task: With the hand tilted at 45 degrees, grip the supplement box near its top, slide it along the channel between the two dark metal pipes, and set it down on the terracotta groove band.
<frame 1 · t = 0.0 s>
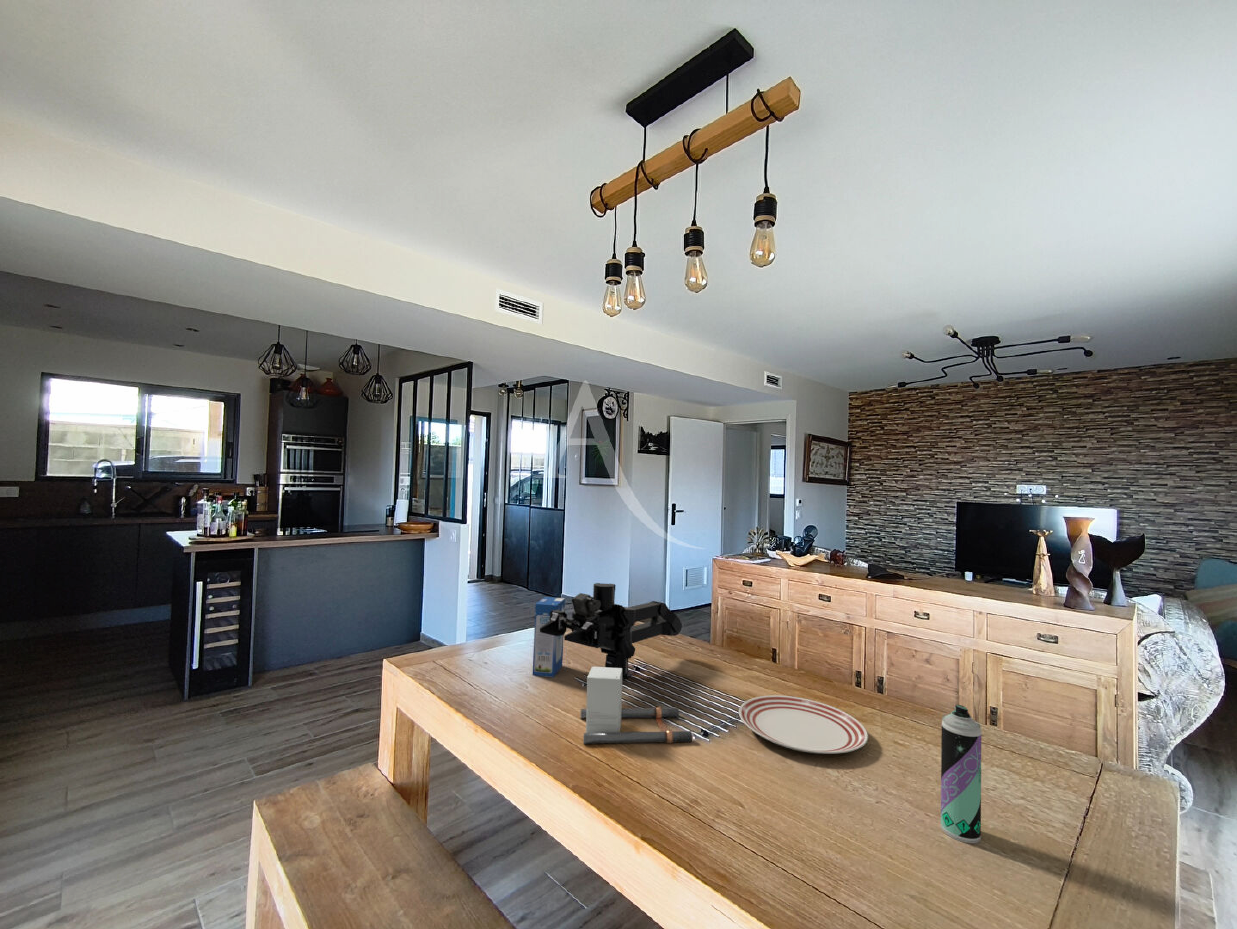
hand: (552, 633, 132), 17 cm above the table, tool horizontal, fingers open, 9 cm apart
pipe track: (633, 729, 118), on the table
dinner plate: (800, 734, 119), on the table
spray can: (960, 833, 86), on the table
milk carton: (547, 671, 154), on the table
supplement box: (603, 730, 117), on the table
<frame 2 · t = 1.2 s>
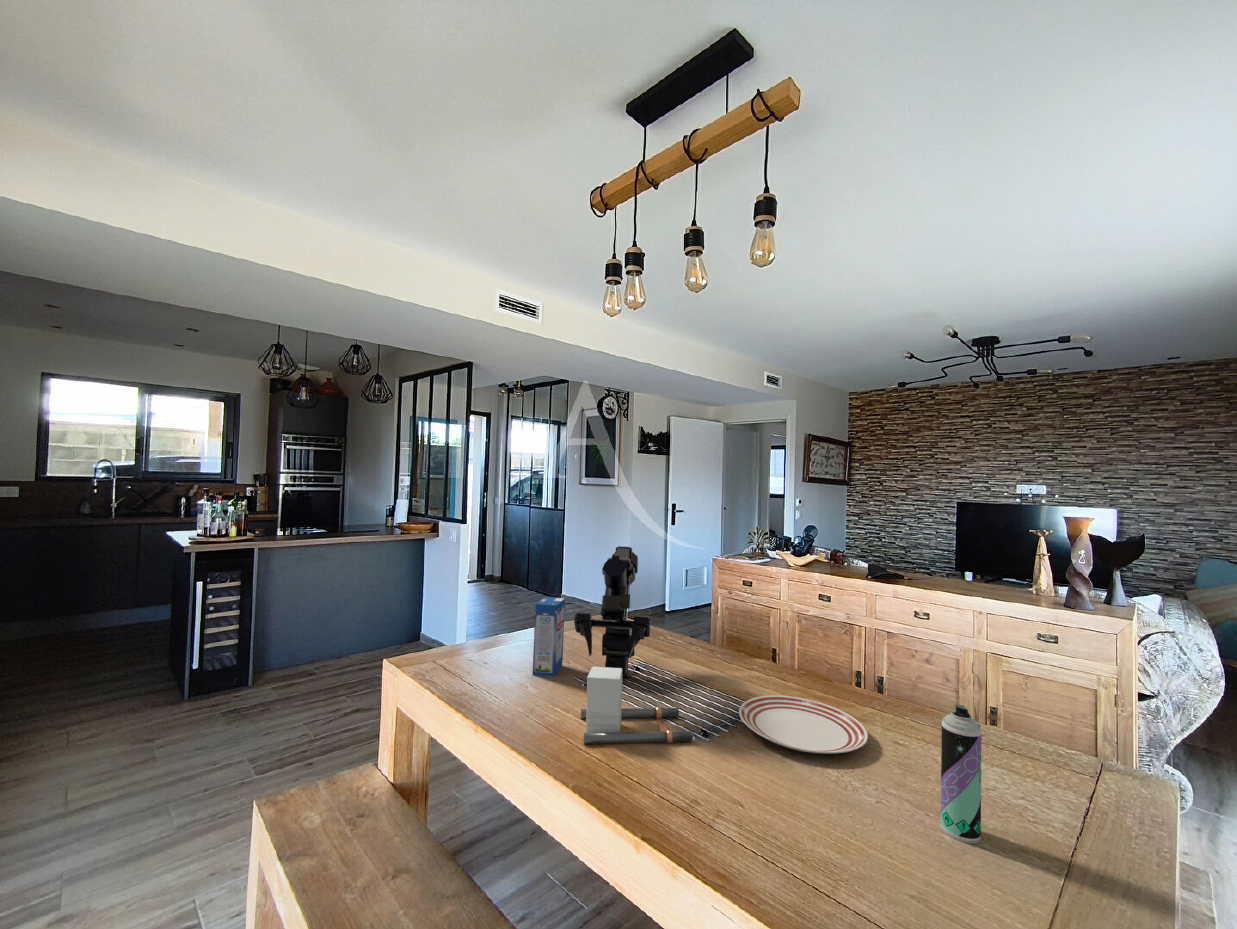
hand: (609, 656, 126), 14 cm above the table, tool tilted 45°, fingers open, 9 cm apart
nothing on the table moved.
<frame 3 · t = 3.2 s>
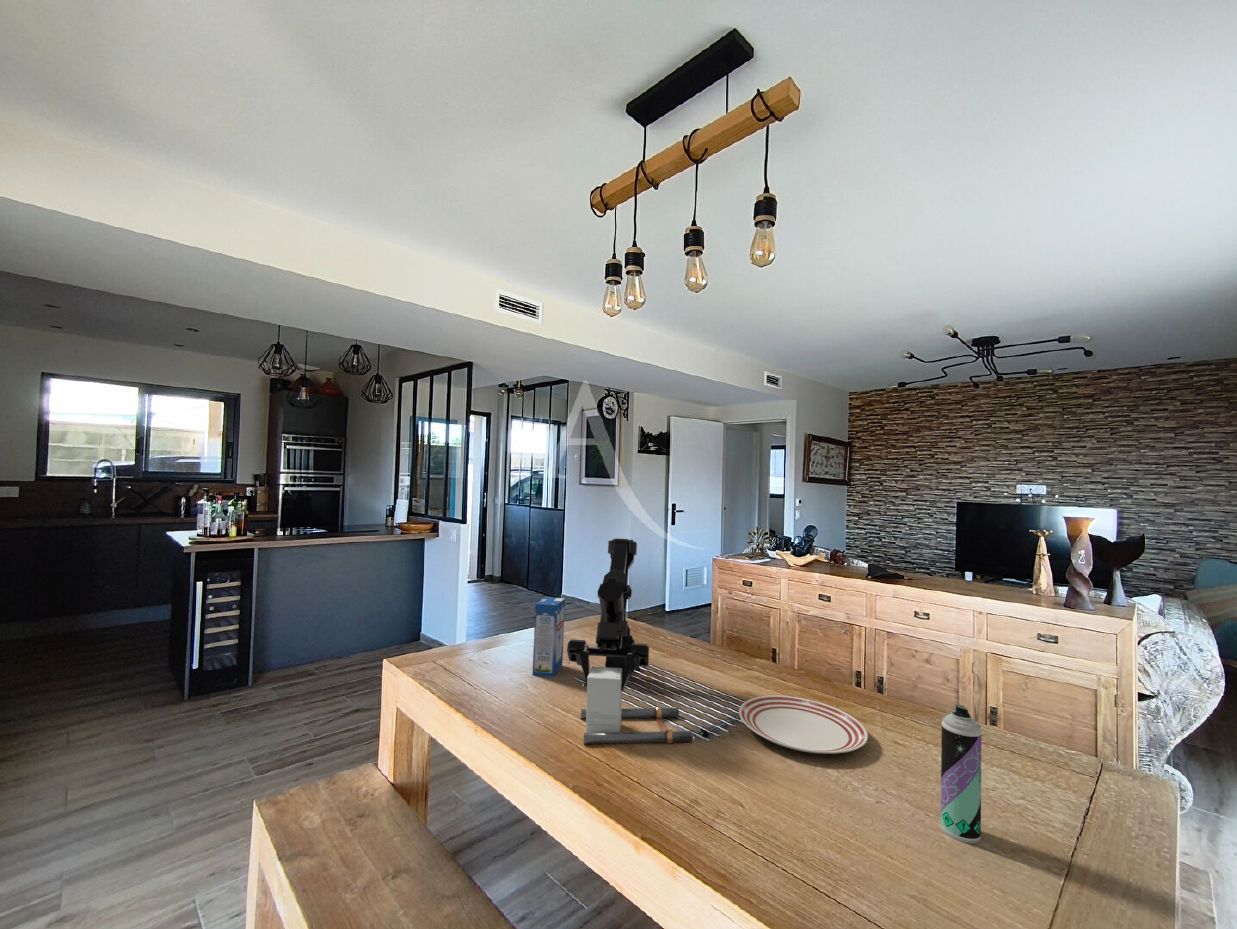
hand: (604, 688, 116), 9 cm above the table, tool tilted 45°, fingers closed on supplement box, 7 cm apart
supplement box: (603, 730, 117), on the table, touching gripper
everything else where it was.
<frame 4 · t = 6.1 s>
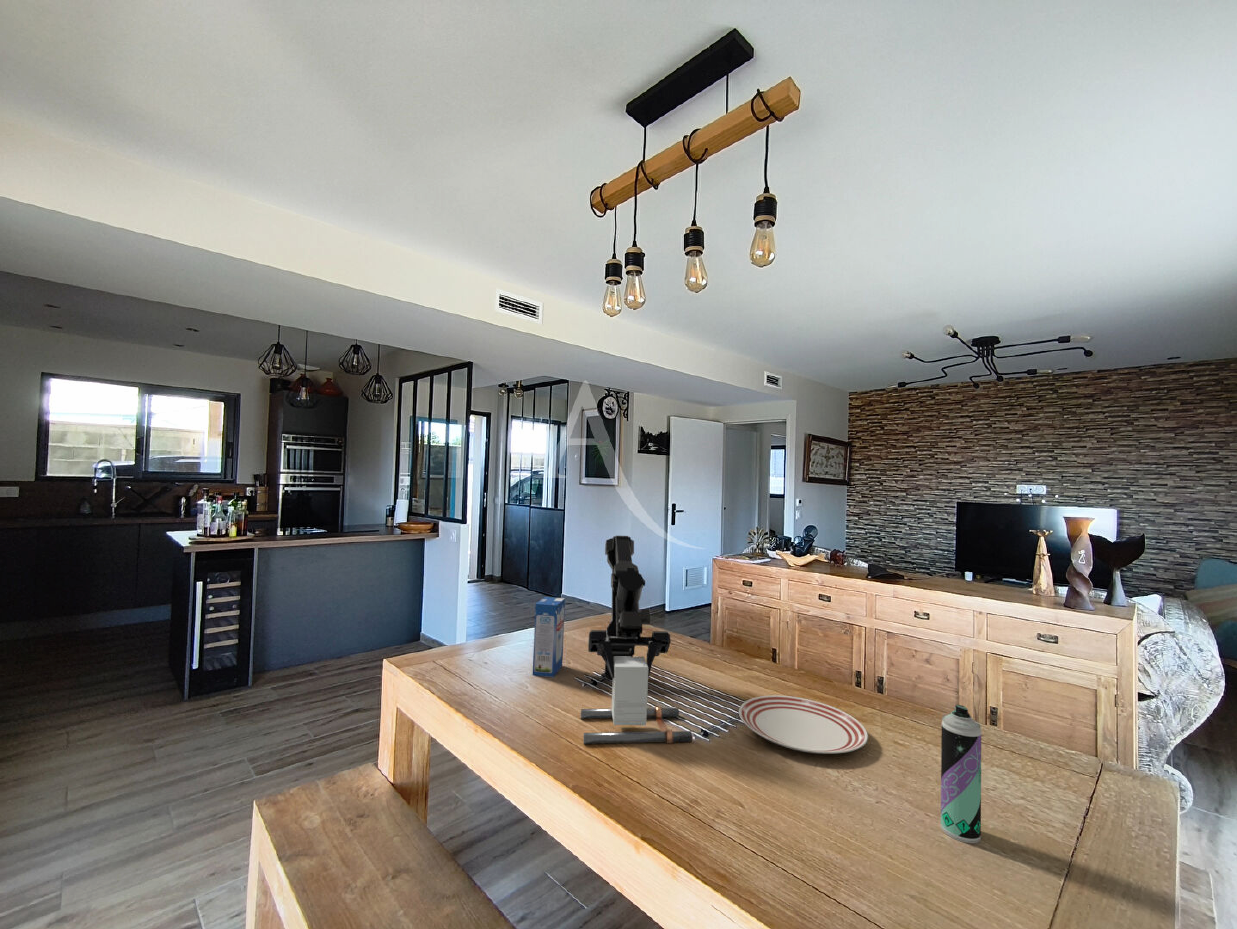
hand: (630, 677, 117), 12 cm above the table, tool tilted 45°, fingers closed on supplement box, 7 cm apart
supplement box: (628, 719, 118), point 2 cm above the table, touching gripper
everything else where it was.
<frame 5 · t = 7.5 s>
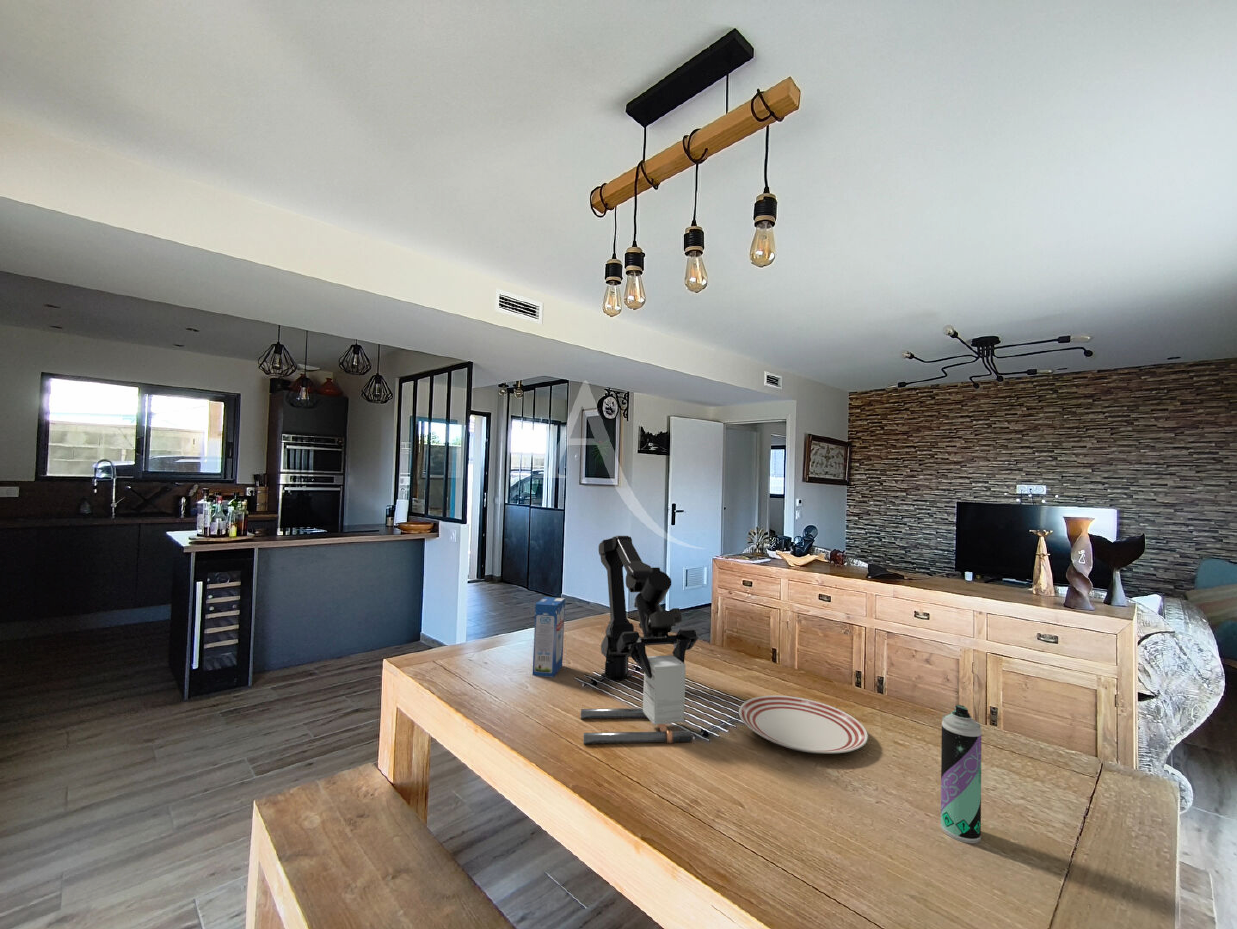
hand: (666, 676, 118), 12 cm above the table, tool tilted 45°, fingers closed on supplement box, 7 cm apart
supplement box: (662, 718, 119), point 2 cm above the table, touching gripper
everything else where it was.
when the fingers open (10 cm above the table, at t = 8.8 s): supplement box stays where it is, resting on pipe track.
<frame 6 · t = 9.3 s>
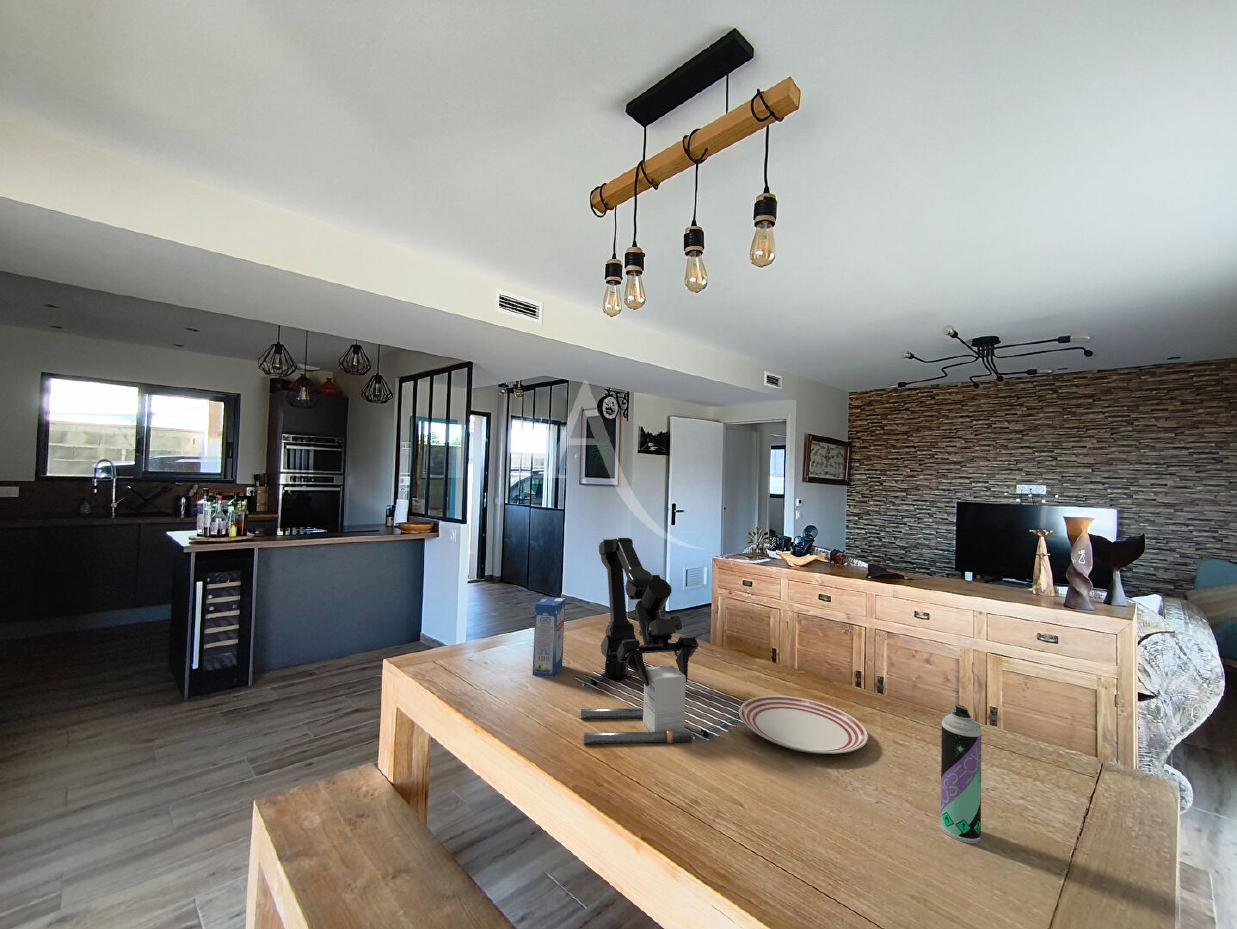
hand: (667, 684, 118), 10 cm above the table, tool tilted 45°, fingers open, 9 cm apart
supplement box: (662, 729, 119), resting on pipe track
everything else where it was.
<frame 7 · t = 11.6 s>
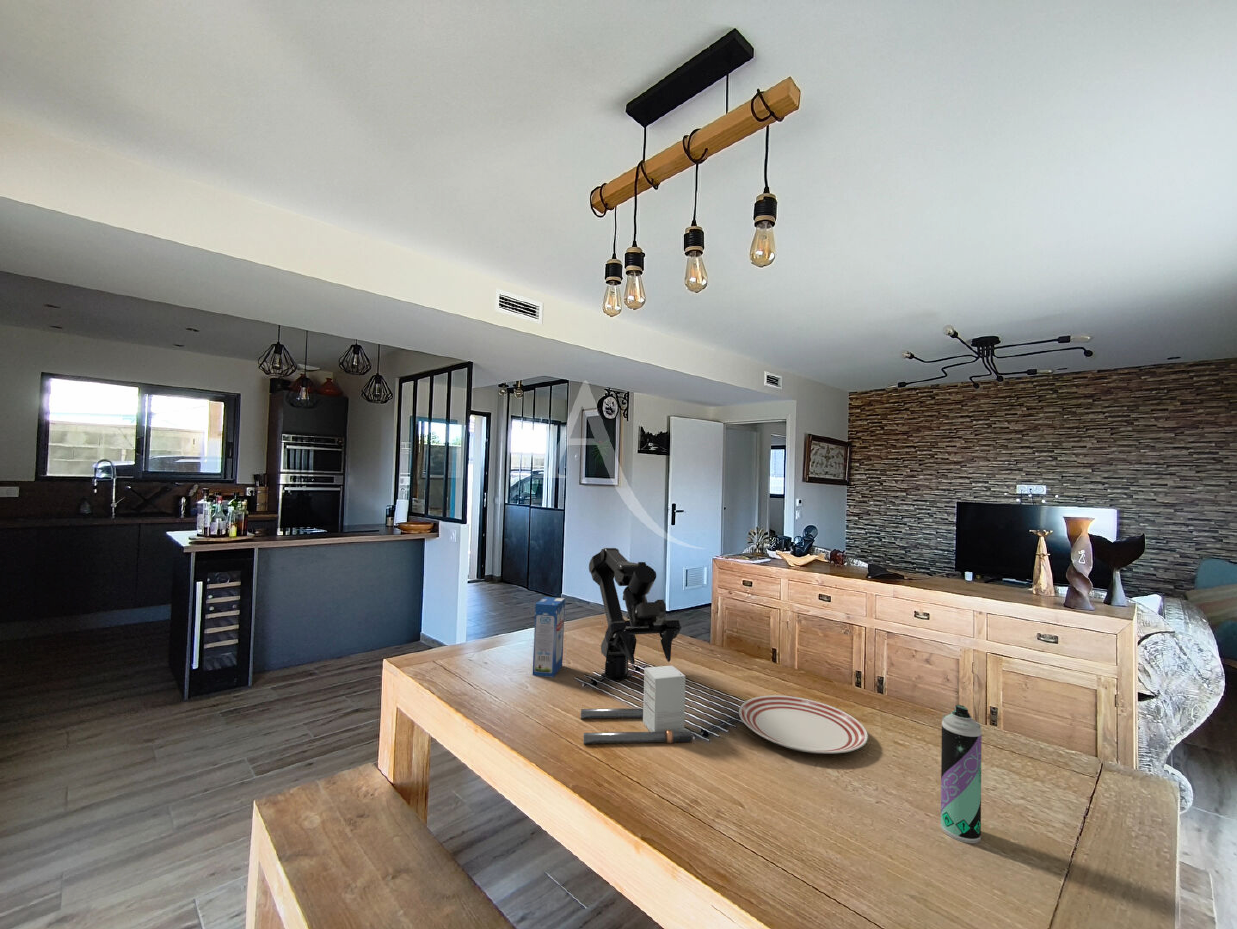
hand: (651, 662, 127), 12 cm above the table, tool tilted 45°, fingers open, 9 cm apart
nothing on the table moved.
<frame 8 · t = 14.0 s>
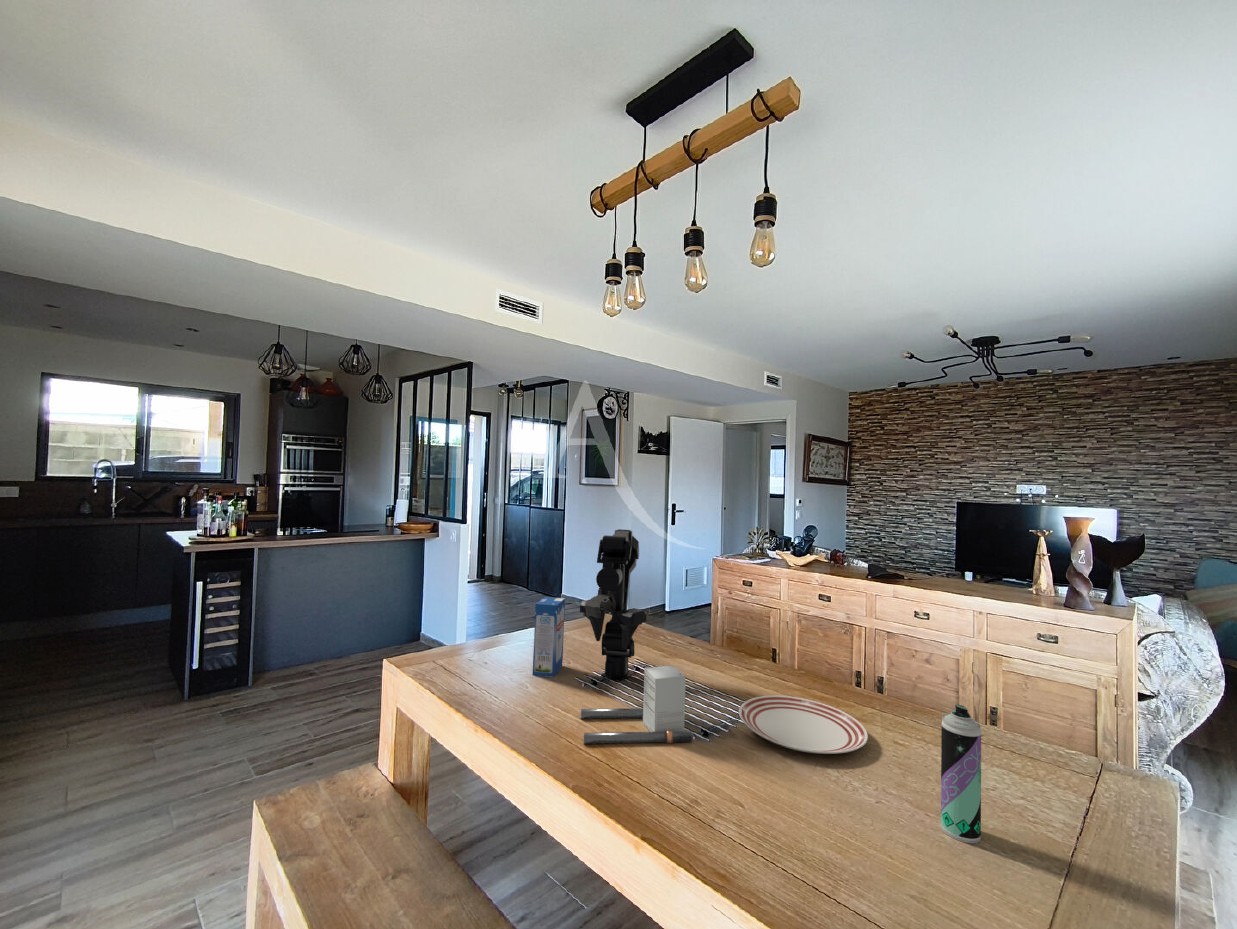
hand: (611, 644, 137), 13 cm above the table, tool pointing down, fingers open, 9 cm apart
nothing on the table moved.
at the end: supplement box 0.1 cm from the target spot, on the table; supplement box tilted 0°; the gripper is holding nothing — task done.
